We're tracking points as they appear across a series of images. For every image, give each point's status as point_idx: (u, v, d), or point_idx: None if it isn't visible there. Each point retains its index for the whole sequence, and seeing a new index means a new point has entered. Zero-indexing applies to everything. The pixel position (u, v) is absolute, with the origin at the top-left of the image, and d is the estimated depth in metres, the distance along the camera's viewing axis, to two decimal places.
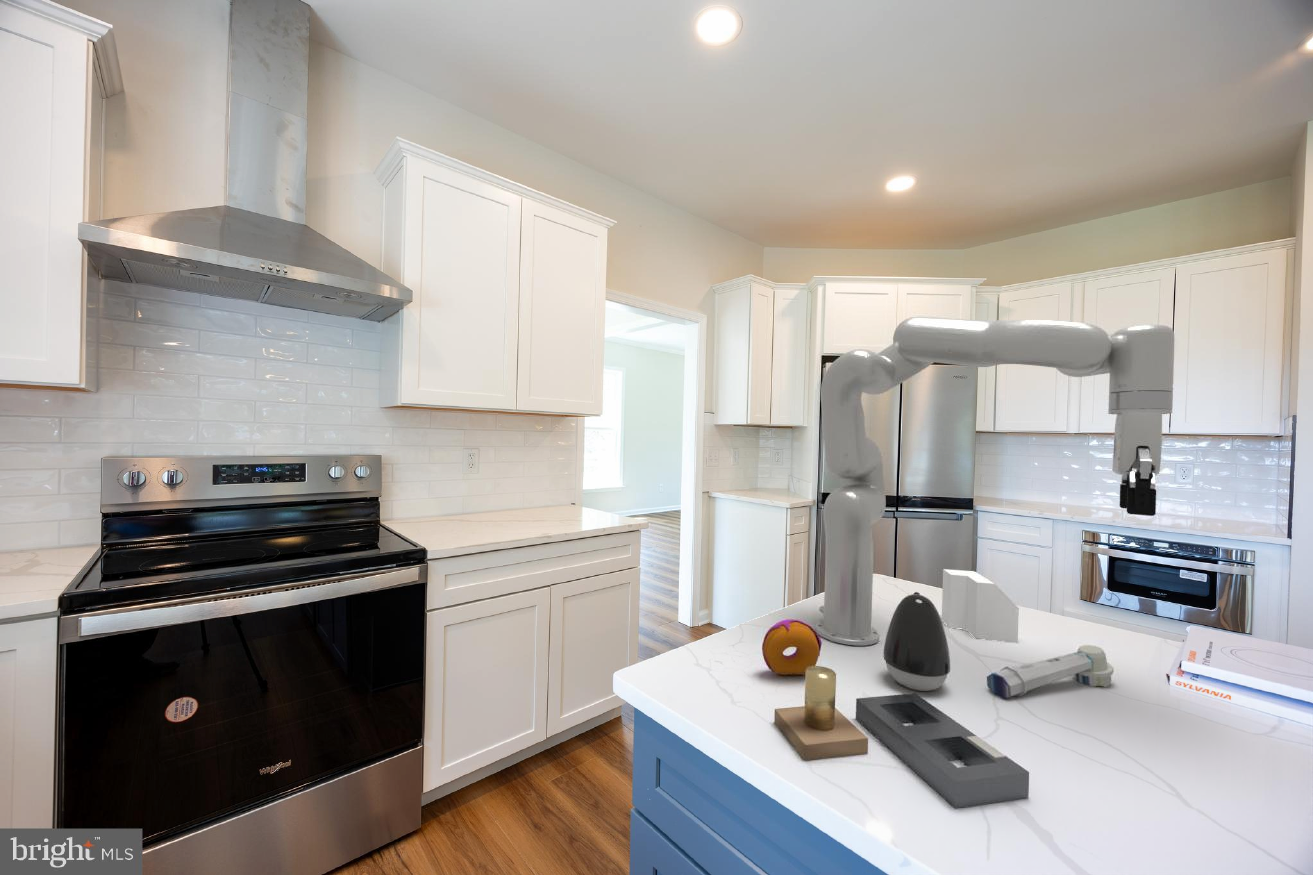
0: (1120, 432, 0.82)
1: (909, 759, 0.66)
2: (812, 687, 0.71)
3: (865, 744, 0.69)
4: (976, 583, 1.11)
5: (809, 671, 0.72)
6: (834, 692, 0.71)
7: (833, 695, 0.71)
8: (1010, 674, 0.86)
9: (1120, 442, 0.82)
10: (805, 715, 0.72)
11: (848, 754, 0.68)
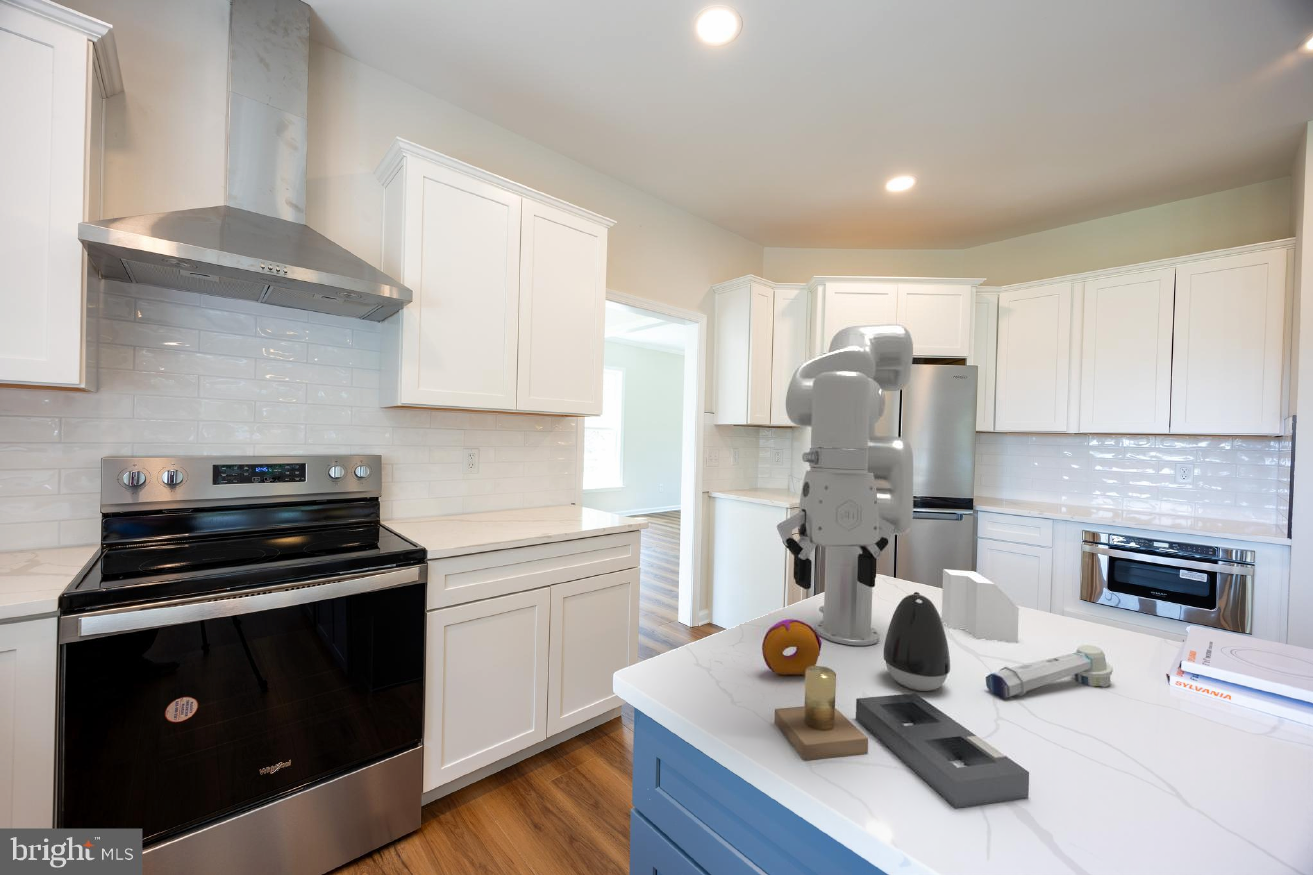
0: (874, 497, 0.71)
1: (909, 759, 0.66)
2: (812, 687, 0.71)
3: (865, 744, 0.69)
4: (976, 583, 1.11)
5: (809, 671, 0.72)
6: (834, 692, 0.71)
7: (833, 695, 0.71)
8: (1009, 674, 0.86)
9: (876, 508, 0.71)
10: (805, 715, 0.72)
11: (848, 754, 0.68)
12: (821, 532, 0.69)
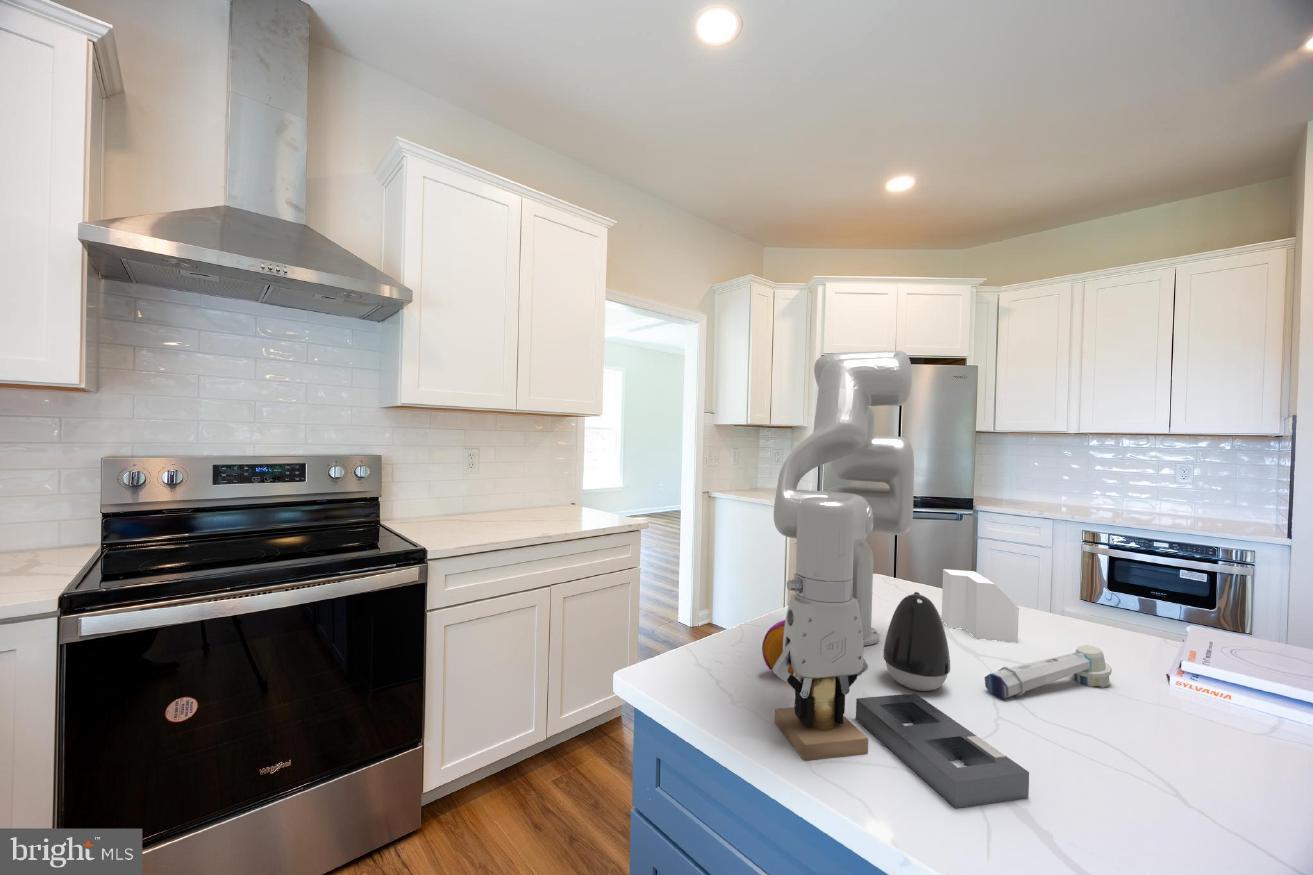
0: (859, 626, 0.71)
1: (909, 759, 0.66)
2: (812, 687, 0.71)
3: (865, 744, 0.69)
4: (976, 583, 1.11)
5: None
6: (834, 692, 0.71)
7: (833, 695, 0.71)
8: (1008, 674, 0.86)
9: (861, 637, 0.71)
10: None
11: (848, 754, 0.68)
12: (805, 665, 0.69)
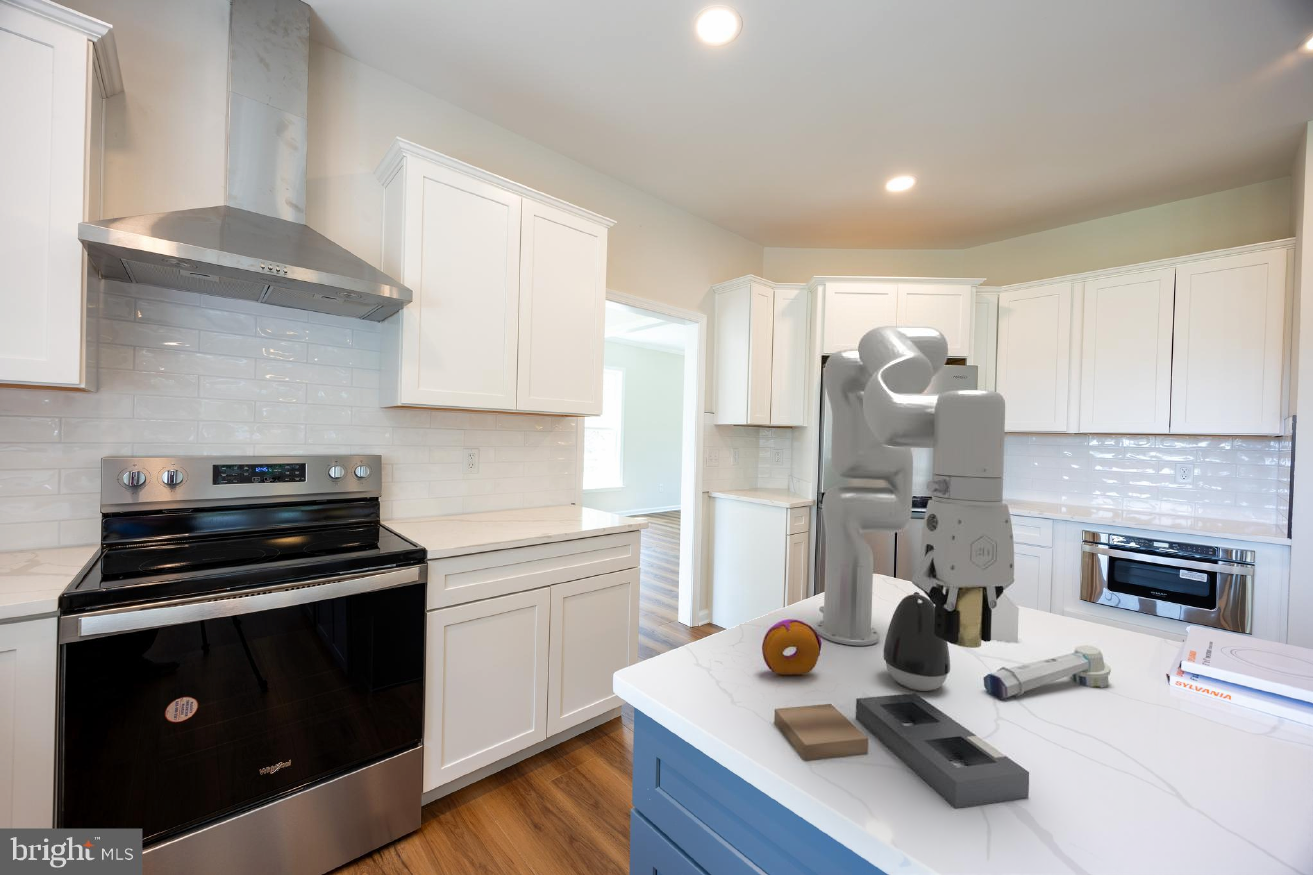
0: (1010, 531, 0.63)
1: (909, 759, 0.66)
2: (958, 599, 0.63)
3: (865, 744, 0.69)
4: None
5: None
6: (981, 605, 0.64)
7: (981, 608, 0.63)
8: (1007, 675, 0.85)
9: (1012, 544, 0.63)
10: None
11: (848, 754, 0.68)
12: (954, 572, 0.61)
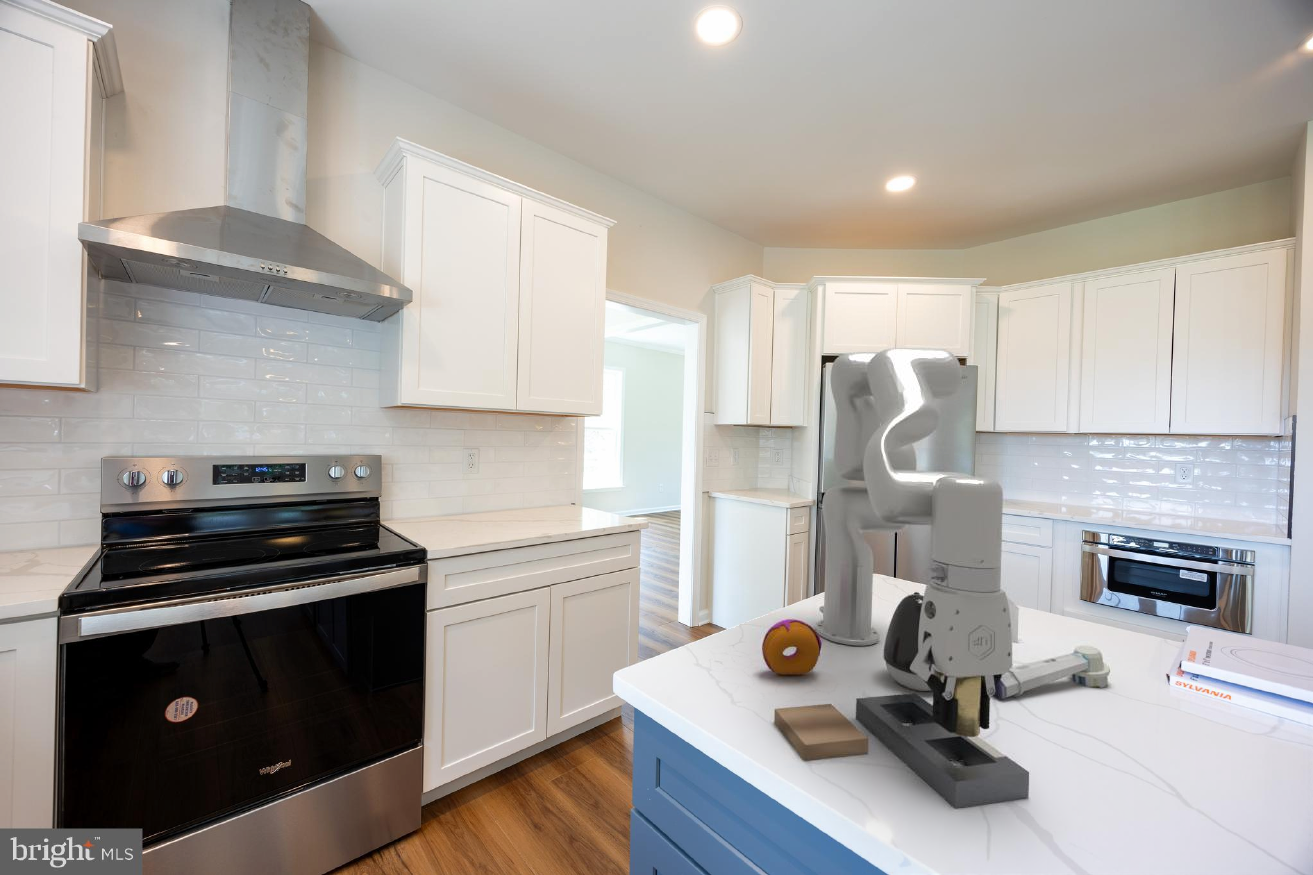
0: (1008, 619, 0.63)
1: (909, 759, 0.66)
2: (956, 687, 0.63)
3: (865, 744, 0.69)
4: None
5: None
6: (980, 693, 0.63)
7: (979, 697, 0.63)
8: (1006, 675, 0.85)
9: (1010, 632, 0.63)
10: None
11: (848, 754, 0.68)
12: (952, 663, 0.61)
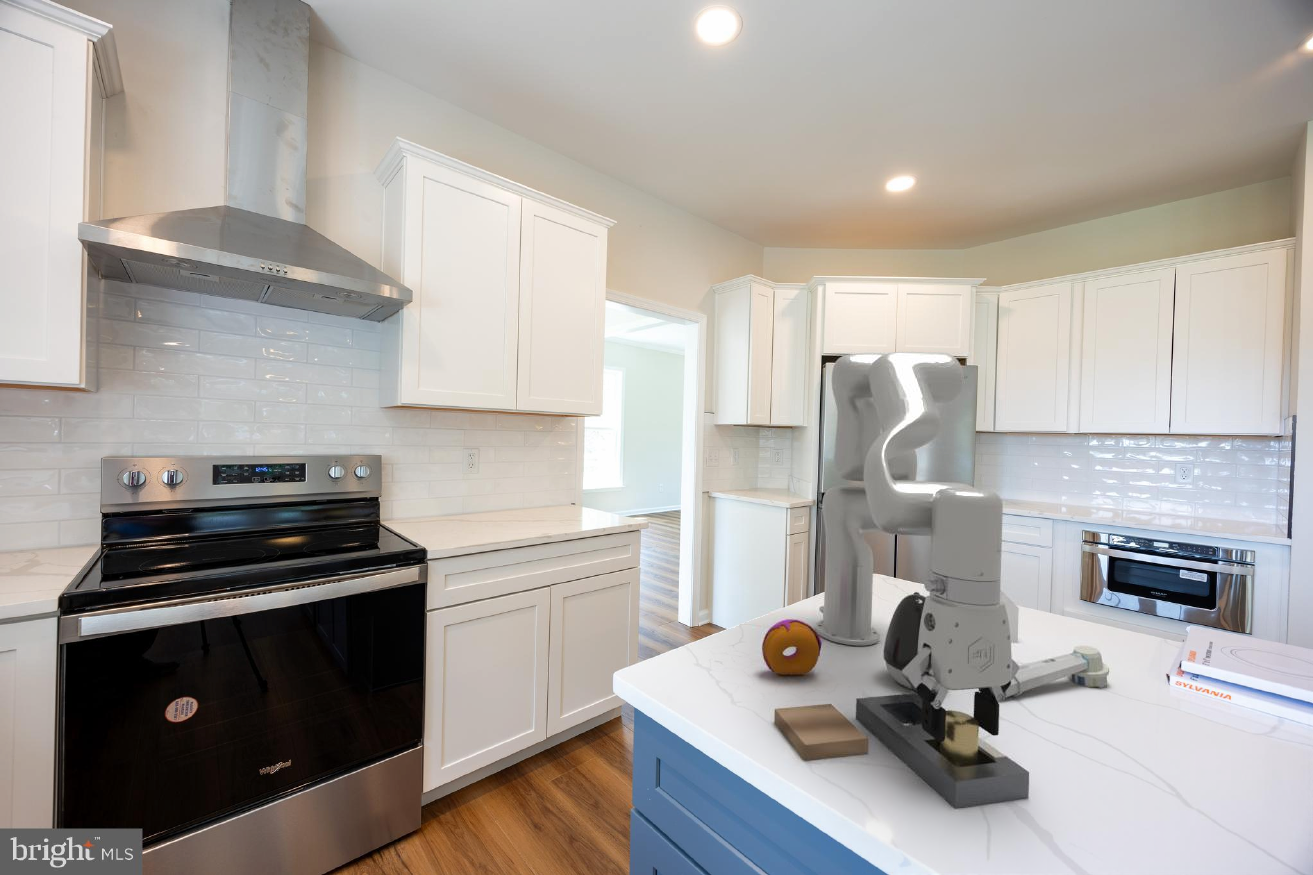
0: (1007, 631, 0.63)
1: (909, 759, 0.66)
2: (953, 736, 0.63)
3: (865, 744, 0.69)
4: None
5: (947, 718, 0.65)
6: (977, 742, 0.64)
7: (977, 746, 0.63)
8: None
9: (1009, 644, 0.63)
10: None
11: (848, 754, 0.68)
12: (951, 675, 0.61)
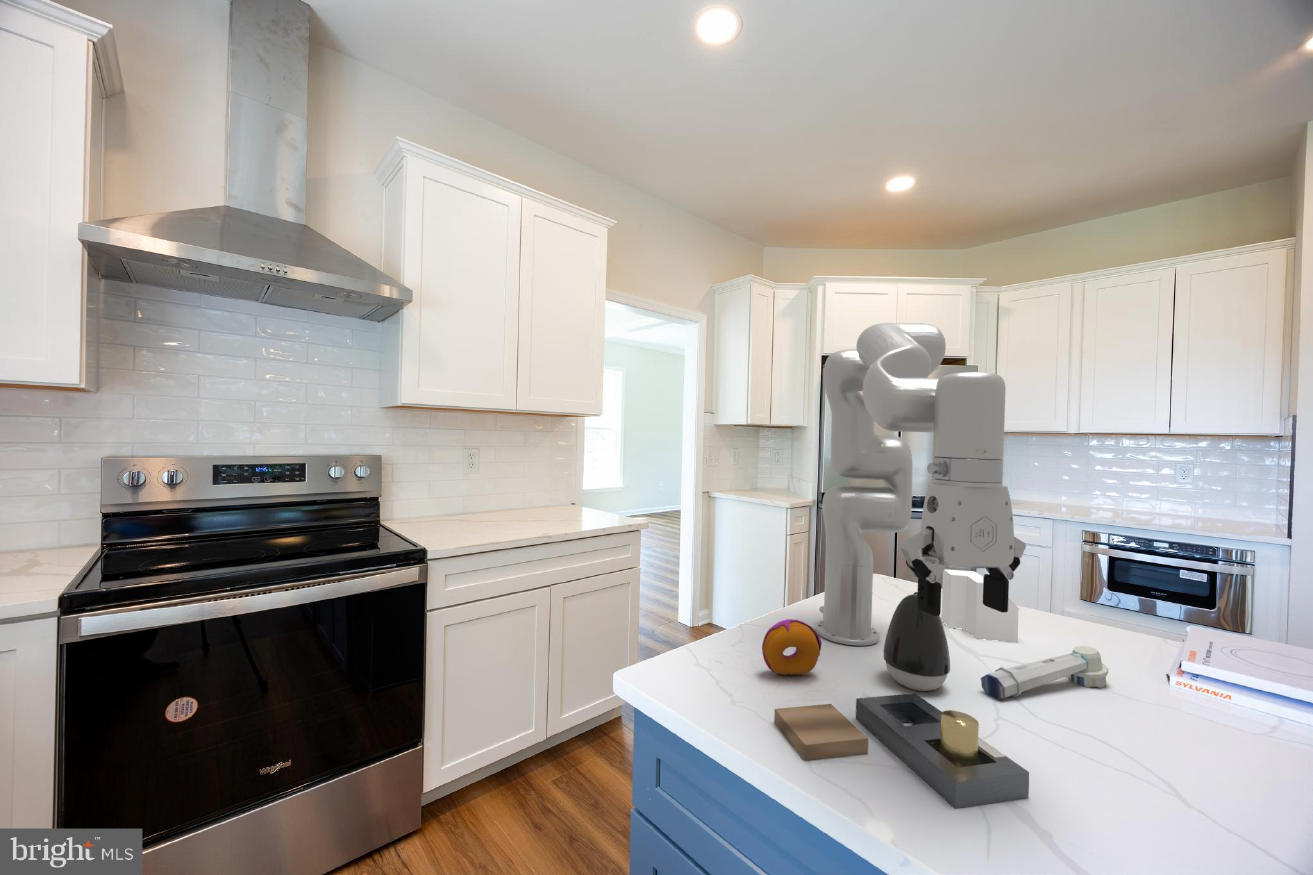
0: (1010, 513, 0.63)
1: (909, 759, 0.66)
2: (953, 736, 0.63)
3: (865, 744, 0.69)
4: (976, 583, 1.11)
5: (947, 718, 0.65)
6: (977, 742, 0.64)
7: (977, 746, 0.63)
8: (1004, 675, 0.85)
9: (1012, 525, 0.63)
10: None
11: (848, 754, 0.68)
12: (954, 553, 0.62)
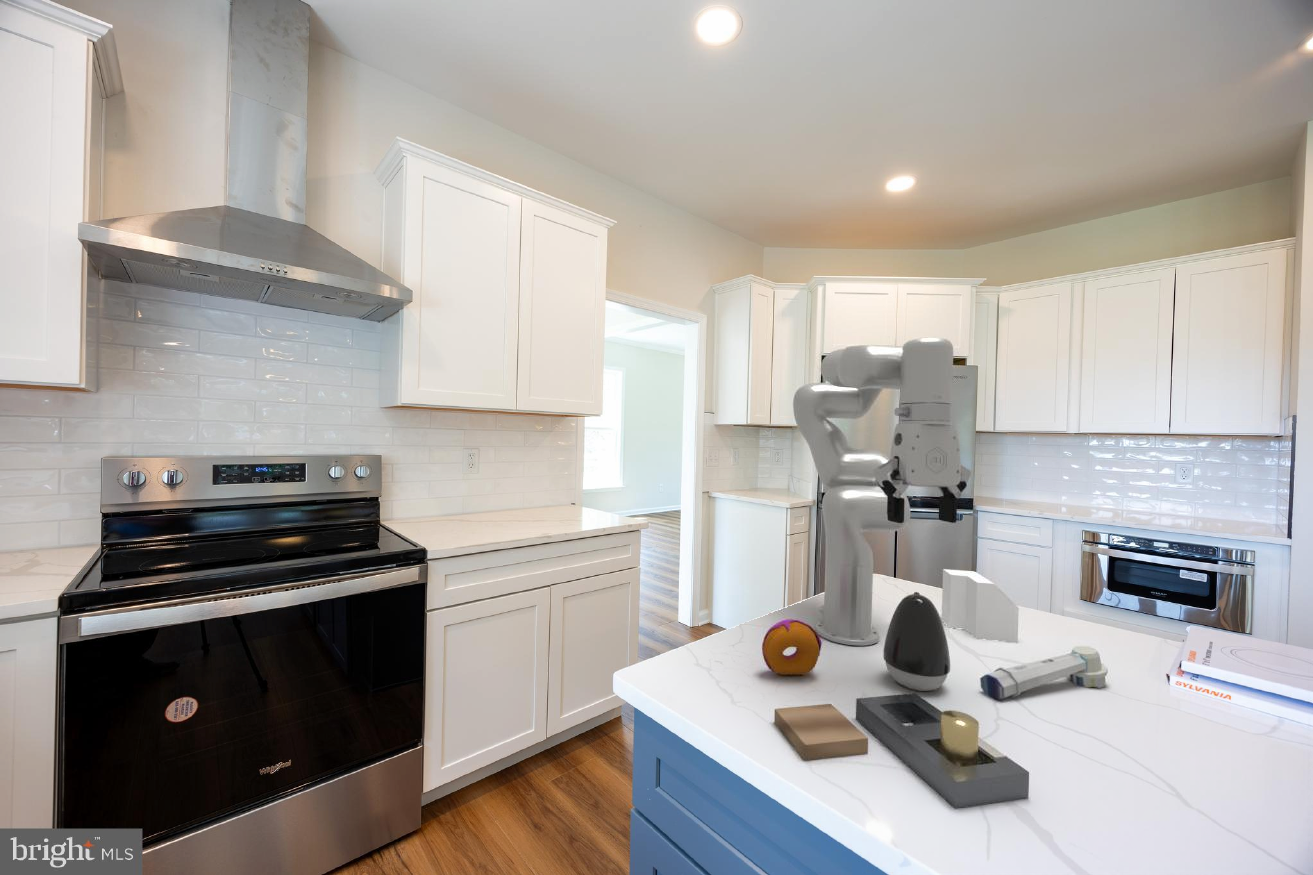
0: (957, 445, 0.83)
1: (909, 759, 0.66)
2: (953, 736, 0.63)
3: (865, 744, 0.69)
4: (976, 583, 1.11)
5: (947, 718, 0.65)
6: (977, 742, 0.64)
7: (977, 746, 0.63)
8: (1004, 675, 0.85)
9: (958, 455, 0.83)
10: None
11: (848, 754, 0.68)
12: (914, 474, 0.81)
